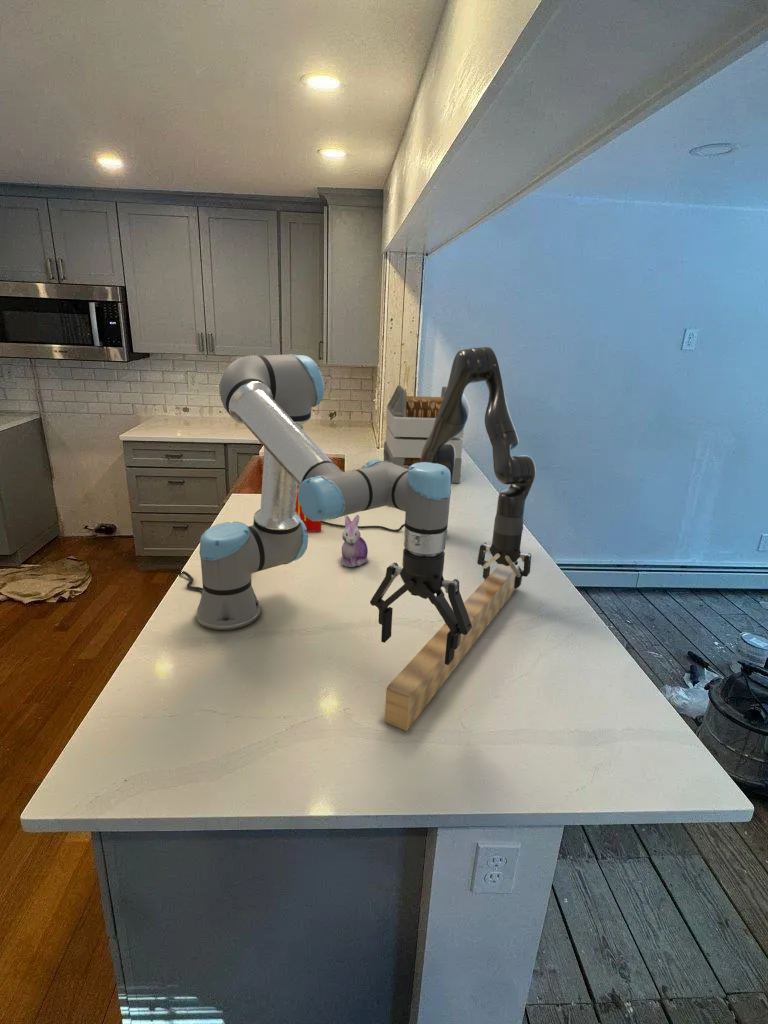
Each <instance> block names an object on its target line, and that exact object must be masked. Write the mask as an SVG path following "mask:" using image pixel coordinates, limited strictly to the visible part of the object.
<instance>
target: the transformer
mask: <svg viewBox="0 0 768 1024" xmlns="http://www.w3.org/2000/svg"><path fill="white" fill-rule="evenodd" d="M446 389H447V386H442V387H441V392H440V393H441V394H440V396H415V395H414V396H413V395H412V396H411V395H407V394H408V393H407V390H406V389H404V388H403V387H402V385H399V384H398V385H397V386H396V388H395V390H394V392H393V394H392V395H391V398H390V400H389V402H388V404H387V405H386V413H385V414H386V415H385V423H386V428H385V438H384V442H383V461H389V462H392V463H393V464H395V465H398V466H401V467H404V468H405V466H406V467H407V466H409V467H410V466H411V465H412V464H415V463H420V462H421V453H422V450H423V447H424V445H425V443H426V441H427V439H428V437H429V435H430V433H431V431H432V428H433V426H434V423H435V420H436V416H437V413H438V411H439V408H440V405H441V403H442V401H443V398H444V395H445V392H446ZM464 429H465V428H464ZM464 429H463V430H462V431H461V432H460V433H459V434H458V435H457V436H455V437H454V438H453V439H451V440H450V441H448V442H446V443H450V444H452V445H453V446H454V449H455V464H454V471H453V479H452V484H455V483H456V484H459V483H461V472H462V461H463V460H462V453H463V442H464V441H463V440H462V439H463V438H464V431H465V430H464Z"/></svg>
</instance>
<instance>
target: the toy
mask: <svg viewBox="0 0 768 1024" xmlns="http://www.w3.org/2000/svg"><path fill="white" fill-rule="evenodd" d="M295 512H297V513H298V514H299V516H300V519H301V520H302V521H303V522H304V524H305V526H306V529H307V530H306V532H322V523H321V521H313V520H310V519H308V518H307V517H306V516H305V515H304V513H303V512H302V507H301V506H300V505H299V501H298V492H297V497H296V508H295Z"/></svg>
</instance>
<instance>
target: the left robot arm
mask: <svg viewBox="0 0 768 1024" xmlns="http://www.w3.org/2000/svg"><path fill="white" fill-rule="evenodd" d="M324 395H325V382H324V378H323V374H322V372H321V370H320V368H319V366H318V364H317V362H315V360H314V359H313V358H311V357H310V356H308V355H304V354H294V353H289V354H287V353H286V354H266V355H264V354H263V355H255V354H253V355H244V356H242V357H239V358H237V359H236V360H234V361H233V362H231V363H230V364H229V365H228V366H227V367H226V368H225V370H224V371H223V374H222V375H221V378H220V381H219V397H220V401H221V404H222V406H223V408H224V409H225V410H226V412H227V413H228V415H229V416H230V417H231V418H232V419H233V420H234V421H235V422H236V423H238V424H242V425H245V426H246V428H247V429H248V430H249V431H250V432H251V434H252V435H254V437H255V438H256V439H257V441H259V442H260V444H261V445H262V446H263V462H262V477H261V479H262V480H261V495H260V497H261V498H260V508H259V509H258V510H256V511H255V512H254V514H253V523H252V525H247V524H246V523H245V522H241V521H232V522H230V521H226V522H220V523H218V524H215V525H213V526H210V527H209V528H207V529H206V530H205V531H204V532H203V533H202V535H201V536H200V539H199V557H200V567H201V579H202V587H200V586H193V585H192V584H193V583H194V578H193V576H192V575H191V574H190V573H188V572H187V571H185V570H180V571H178V573H177V574H178V575H182V574H183V575H185V576H186V577H187V578H188V579H189V581H188V583H187V584H186V588H187V589H190V590H195V591H201V592H202V593H201V596H200V600H199V604H198V606H197V610H196V618H197V622H198V623H199V624H200V626H202V627H204V628H207V629H210V630H214V631H234V630H239V629H242V628H244V627H247V626H249V625H251V624H253V623H254V622H256V621H257V620H258V618H259V617H260V614H261V608H260V603H259V600H258V598H257V596H256V595H257V594H256V593H255V590H254V588H253V585H252V574H254V573H257V572H261V571H264V570H268V569H272V568H277V567H280V566H282V565H289V564H291V563H293V562H295V561H298V560H299V559H301V558H302V557H303V556H304V554H305V553H306V552H307V549H308V544H309V534H308V533H307V531H306V530H307V529H306V526H305V524H304V522H303V521H302V520H301V519H300V516H299V514H298V513H297V512H295V508H296V497H297V493H298V501H299V505H300V506H301V507H302V512H303V513H304V515H305V516H306V517H307V518H308V519H310V520H313V521H328V520H336V519H339V518H340V517H346V516H349V515H352V514H356V513H359V512H360V513H361V512H366V511H369V510H373V509H377V508H382V507H386V506H389V507H391V508H394V509H397V510H399V511H402V512H405V518H404V524H405V526H404V535H403V547H404V548H403V549H402V567H401V566H399V564H398V563H397V562H393V563H391V564H390V565H389V566H387V568H386V569H385V570H386V571H385V577H384V578H383V580H382V581H381V583H380V585H379V586H378V588H377V590H376V591H375V593H374V594H373V596H372V597H371V599H370V601H369V604H370V605H371V606H372V607H376V608H377V609H378V624H379V625H381V636H380V637H381V638H380V642H381V643H383V644H384V643H386V642H387V641H388V640H389V639H390V638H391V637H392V626H393V610H394V607H391V606H390V605H392V604H393V603H394V602H395V601H397V600H398V599H399V598H400V597H402V596H403V595H404V594H405V593H406V592H407V591H408V592H409V593H410V595H411V596H416V597H420V598H421V599H424V600H427V599H428V600H429V601H430V603H431V604H432V605H434V607H435V608H436V610H437V612H438V613H439V615H440V617H441V618H442V619H443V621H444V622H445V623H446V624H447V626H448V627H449V629H450V631H449V632H448V634H447V643H446V654H445V664H446V665H449V664H450V662H451V661H452V660H453V659H454V652H455V649H457V648H458V646H459V645H460V640H461V634H463V635H467V633H468V632H469V631H470V630H471V628H472V624H471V621H470V619H469V616H468V613H467V611H466V608H465V605H464V602H465V601H464V600H463V597H462V594H461V592H460V581H459V580H458V579H457V578H454V579H453V580H448V579H445V577H444V567H445V555H446V553H445V550H446V545H447V538H446V532H447V533H448V527H447V517H448V518H449V516H448V508H449V509H450V505H449V500H450V501H451V495H452V485H451V474H450V471H449V469H448V468H447V467H446V466H444V465H441V464H434V463H430V462H420V463H415V464H412V465H411V466H409V467H408V468H406V467H405V466H404V467H401V466H398V465H395V464H393V463H392V462H389V461H384V460H383V459H371V460H369V461H367V463H365V464H364V465H362V466H361V468H358V469H353V470H347V471H346V470H345V471H343V470H341V469H340V467H338V466H337V464H336V463H335V462H333V461H332V459H331V458H329V456H327V455H326V453H325V452H324V451H323V449H321V448H320V447H319V446H318V445H317V443H316V442H315V441H313V439H311V438H310V436H309V435H308V434H307V433H306V432H305V431H304V425H305V424H306V423H307V422H308V421H310V419H311V416H312V408H315V407H316V406H319V405H320V404H321V402H322V401H323V399H324ZM182 571H183V572H182ZM181 572H182V573H181ZM180 573H181V574H180ZM399 576H400V578H401V581H403V585H402V586H400V587H399V588H398V589H397V590H396V591H394V592H393V593H392V594H391V595H390V596H388V597H387V598H386V599H385V600H384V599H383V598H384V597H385V595H386V593H387V591H388V590H389V588H390V587H391V585H392V584H393V582H394V580H395V579H396V578H397V577H399ZM442 588H444V590H445V593H446V594H447V597H448V600H449V602H448V600H447V599H446V597H445V593H444V591H443V590H442ZM435 594H436V595H435ZM445 623H444V624H445Z"/></svg>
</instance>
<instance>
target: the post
mask: <svg viewBox="0 0 768 1024" xmlns="http://www.w3.org/2000/svg"><path fill="white" fill-rule="evenodd" d="M515 576H516V574H515V572H514V571H513V570H512V568H511V567H510V566H505V565H503V564H497V566H496V567H495V568H494V569H493V571H492V572H490V575H489V576H488V577H487V578H486V580H483V582H482V583H480V585H478V587H477V588H476V589H475V590H474V591H473V593H472V594H471V595H470V596H469V597H468V598H467V599H466V600H465V601H463V602H464V605H465V608H466V611H467V613H468V616H469V619H470V621H471V624H472V628H471V630H470V631H469V632H468V633H467V635H463V634H461V640H460V645H459V646H458V648H457V649H455V652H454V659H453V660H452V661H451V662H450V664H449V665H446V664H445V654H446V643H447V634H448V632H449V631H450V629H449V627H448V626H447V624H446V623H444V624H443V625H442V627H440V629H439V630H438V631H437V632H436V633H435V634H434V635H433V636H432V637H431V638H430V639H429V641H428V642H427V643H426V644H424V646H423V647H422V648H421V649H420V650H419V651H418V652H417V653H416V654H415V656H414V657H413V658H412V659H411V660H410V661H409V662H408V664H406V666H404V668H403V669H402V670H401V671H400V672H399V673H398V674H397V675H396V677H395V678H393V680H391V682H390V683H389V684H388V685H387V686H386V691H385V692H386V693H385V708H384V709H385V710H384V711H385V712H384V723H386V724H388V725H391V726H394V727H396V728H398V729H400V730H403V731H406V732H407V731H408V730H409V729H410V727H411V726H412V725H413V724H414V722H415V721H416V720H417V718H418V717H419V716H420V715H421V713H422V712H423V710H424V709H425V708H426V707H427V705H428V704H429V702H430V701H431V700H432V699H433V698H434V696H435V695H436V693H437V692H438V691H439V690H440V688H441V687H442V686H443V685H444V683H445V682H446V680H447V679H448V678H449V677H450V675H451V674H452V673H453V672H454V670H455V669H456V668H457V666H458V665H459V664H460V662H461V661H462V660H463V658H464V657H465V656H466V655H467V653H468V652H469V651H470V649H471V648H472V647H473V645H474V644H475V643H476V642H477V640H478V639H479V638H480V636H481V635H482V634H483V632H484V631H485V630H486V628H487V627H488V626H489V625H490V623H491V622H492V621H493V619H494V618H495V617H496V616H497V614H498V613H499V612H500V611H501V609H502V608H503V607H504V605H506V602H508V600H509V599H510V597H511V596H512V595H513V593H514V592H515V591H516V589H514V583H515Z"/></svg>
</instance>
